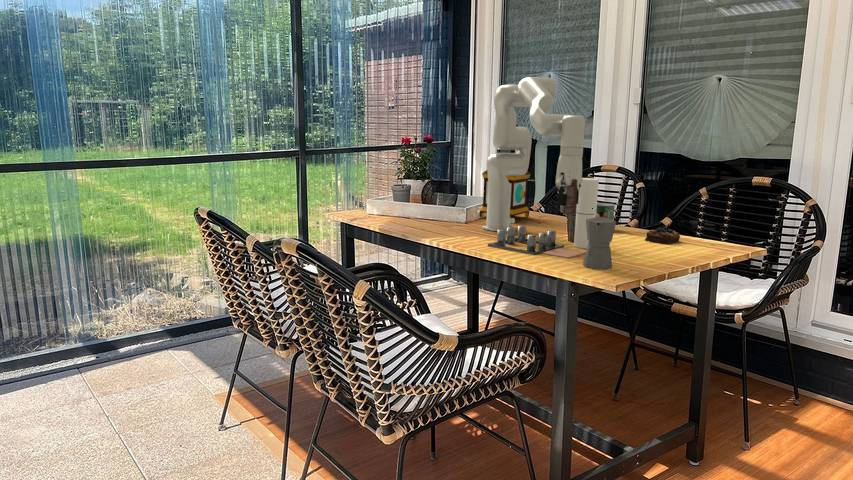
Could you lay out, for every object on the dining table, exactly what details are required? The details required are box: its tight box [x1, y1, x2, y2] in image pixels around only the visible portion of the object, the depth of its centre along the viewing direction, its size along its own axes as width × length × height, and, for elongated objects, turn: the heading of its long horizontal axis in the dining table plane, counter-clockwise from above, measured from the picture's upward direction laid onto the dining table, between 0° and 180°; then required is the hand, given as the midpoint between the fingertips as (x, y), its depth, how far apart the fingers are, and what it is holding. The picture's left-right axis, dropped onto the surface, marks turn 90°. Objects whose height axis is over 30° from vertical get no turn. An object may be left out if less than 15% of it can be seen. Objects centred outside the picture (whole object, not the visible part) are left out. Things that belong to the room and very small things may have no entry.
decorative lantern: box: [478, 169, 531, 219], centre depth 302 cm, size 20×20×30 cm
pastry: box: [644, 226, 681, 245], centre depth 257 cm, size 11×12×6 cm
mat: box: [542, 247, 586, 260], centre depth 229 cm, size 12×10×1 cm
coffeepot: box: [582, 211, 617, 271], centre depth 210 cm, size 15×9×18 cm, turn 159°
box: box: [559, 179, 577, 216], centre depth 225 cm, size 6×4×12 cm
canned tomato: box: [596, 202, 615, 220], centre depth 279 cm, size 8×8×11 cm
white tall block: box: [573, 177, 600, 249], centre depth 240 cm, size 7×7×25 cm
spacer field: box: [487, 225, 565, 256], centre depth 239 cm, size 20×20×6 cm
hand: (567, 204), depth 226 cm, fingers closed on box, 7 cm apart
